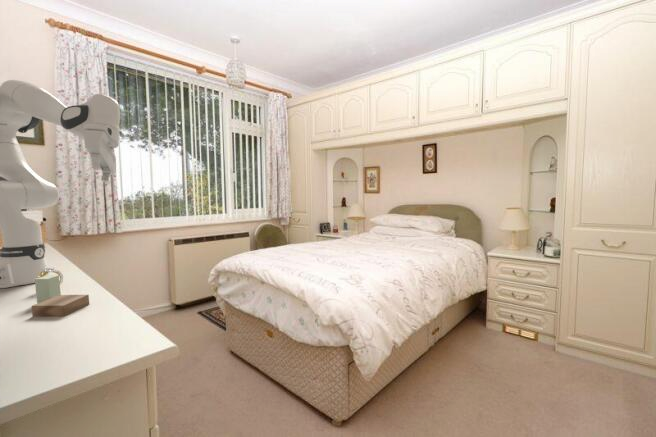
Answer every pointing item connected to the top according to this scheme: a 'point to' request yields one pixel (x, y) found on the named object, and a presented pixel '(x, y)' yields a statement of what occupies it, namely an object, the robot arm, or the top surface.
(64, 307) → the plinth
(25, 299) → the top surface
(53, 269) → the ring
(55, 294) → the block
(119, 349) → the top surface
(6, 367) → the top surface
